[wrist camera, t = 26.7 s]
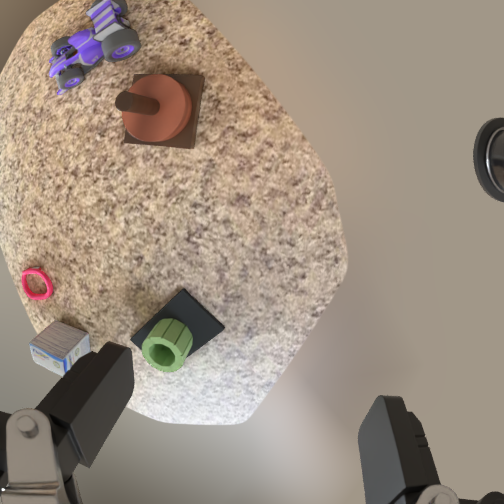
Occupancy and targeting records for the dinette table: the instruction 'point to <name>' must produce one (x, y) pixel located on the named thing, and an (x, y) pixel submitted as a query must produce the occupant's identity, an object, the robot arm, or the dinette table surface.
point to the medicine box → (59, 347)
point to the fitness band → (48, 282)
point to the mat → (184, 321)
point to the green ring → (167, 345)
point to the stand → (162, 109)
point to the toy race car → (94, 44)
